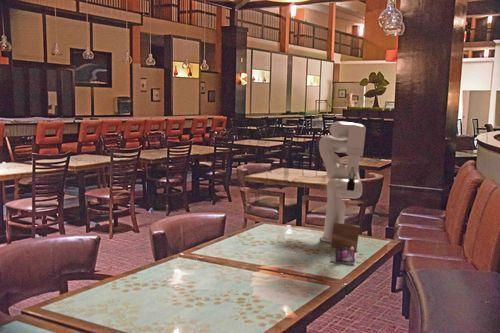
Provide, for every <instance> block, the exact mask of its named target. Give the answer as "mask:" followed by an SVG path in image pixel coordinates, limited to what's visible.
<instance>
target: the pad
mask: <svg viewBox="0 0 500 333" xmlns="http://www.w3.org/2000/svg"><path fill="white" fill-rule="evenodd" d="M351 259H352V258H350V257H348V258H346V259H343V261H351ZM352 261H353V260H352ZM330 263H332V264H340V265H345V266H346V265H347V266H352V267H353V266H355V262H336V261H335V255H331V257H330Z"/></svg>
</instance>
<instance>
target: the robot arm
mask: <svg viewBox="0 0 500 333" xmlns="http://www.w3.org/2000/svg"><path fill="white" fill-rule="evenodd" d="M366 128H367V127H366V125H363V124H362V123H355V122H349V121H338V120H337V121H334V122H333V123H332V124H330V127H329V133H330V135H324V136H322V137H321V138H320V139H319V141H318V150H319V153H320V157H321V158H322V161H323V164H324V167H325V171H326V176H327V179H328V182H327V184H326V196H327V197H326V198H327V199H326V208H325V209H326V211H325V217H324V227H323V234H322V235H320V237H319V239H320V240H321V241H323V242H325V243H332V234H333V225H334V223H340V224H345V219H346V210H347V209H346V208H347V207H346V204H345V203H344V201H343V200H342V199H355V200H356V199H359V198H360V197H361V196H362V194H363V184H362V180H361V176H360V173H359V165H360V160H361V157H363V156H364V147H365V140H366V133H367V132H366V130H367V129H366ZM336 153H344V154H345V155H348V156H347V161H346V164H343V163H342V160H341V158H340V156H338V154H336Z"/></svg>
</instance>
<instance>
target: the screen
mask: <svg viewBox="0 0 500 333" xmlns="http://www.w3.org/2000/svg"><path fill="white" fill-rule="evenodd" d="M359 231H360V225H355V224H347V223H344V224H340V223H334V225H333V234H332V243H331V244H330V249H333V250H335V246H354V252H357V249H358V243H359V242H358V241H359V233H360V232H359ZM347 248H348V247H347ZM342 251H348V252H351V247H350V250H348V249H347V250H345V247H342Z"/></svg>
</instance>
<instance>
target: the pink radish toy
mask: <svg viewBox="0 0 500 333" xmlns="http://www.w3.org/2000/svg"><path fill="white" fill-rule="evenodd" d="M342 247H345V250H342ZM347 247H348V248H347ZM350 247H351V251H348V250H350ZM347 249H348V250H347ZM350 252H351V253H350ZM334 256H335V261H336V262H354V263H355V262H356V261H355V260H356V258H355V257H356V256H355V251H354V246H335V249H334ZM350 256H351V258H350ZM346 258H350V259H351V261H343V259H346ZM352 260H353V261H352Z"/></svg>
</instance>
